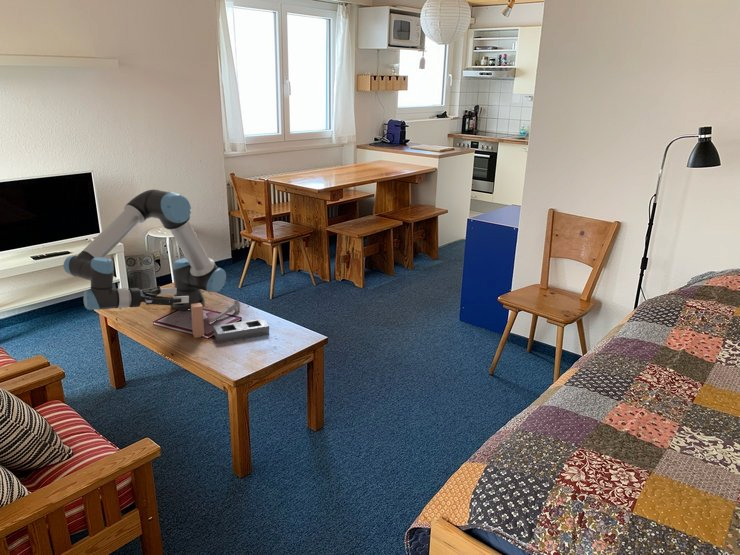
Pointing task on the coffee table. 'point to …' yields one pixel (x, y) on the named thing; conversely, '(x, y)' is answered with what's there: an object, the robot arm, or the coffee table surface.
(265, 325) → the grey peg hole block
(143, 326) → the coffee table surface
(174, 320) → the coffee table surface
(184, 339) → the coffee table surface
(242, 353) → the coffee table surface
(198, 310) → the peg
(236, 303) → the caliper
